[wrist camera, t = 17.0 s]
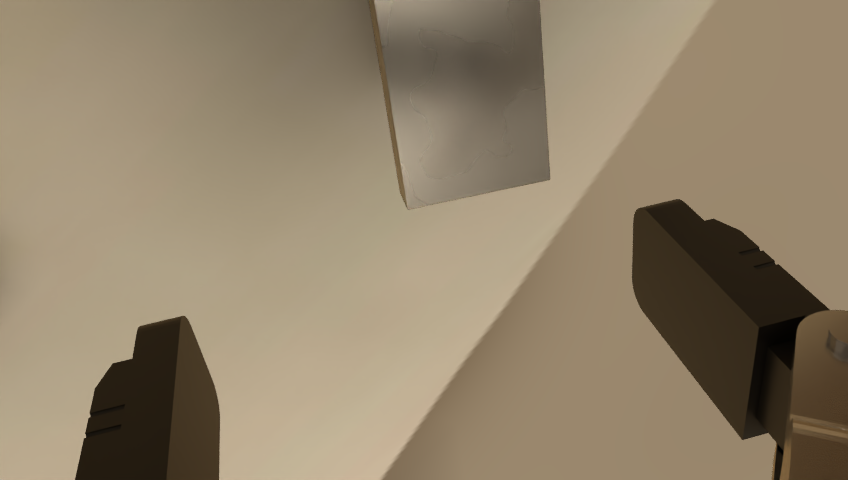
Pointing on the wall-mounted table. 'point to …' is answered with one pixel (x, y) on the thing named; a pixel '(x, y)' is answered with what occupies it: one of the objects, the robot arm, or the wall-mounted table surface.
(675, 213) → the robot arm
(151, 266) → the wall-mounted table surface
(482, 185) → the grey rectangular block
